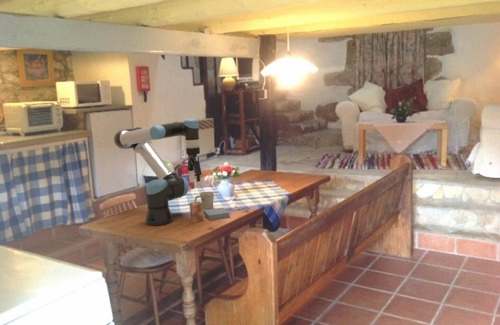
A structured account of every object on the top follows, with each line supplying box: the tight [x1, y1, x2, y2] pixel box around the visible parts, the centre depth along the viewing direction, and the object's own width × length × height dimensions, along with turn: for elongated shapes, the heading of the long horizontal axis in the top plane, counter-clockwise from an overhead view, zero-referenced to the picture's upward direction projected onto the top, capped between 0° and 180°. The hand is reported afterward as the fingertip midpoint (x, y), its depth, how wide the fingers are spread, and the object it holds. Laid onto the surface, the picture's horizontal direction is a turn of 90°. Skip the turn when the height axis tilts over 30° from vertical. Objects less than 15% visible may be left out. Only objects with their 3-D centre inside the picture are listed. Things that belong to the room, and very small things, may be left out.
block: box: [189, 201, 205, 223], centre depth 268 cm, size 6×6×10 cm
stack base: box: [203, 207, 231, 221], centre depth 274 cm, size 12×12×3 cm
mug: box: [193, 191, 215, 211], centre depth 291 cm, size 8×13×10 cm, turn 78°
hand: (195, 184), depth 265 cm, fingers open, 13 cm apart
